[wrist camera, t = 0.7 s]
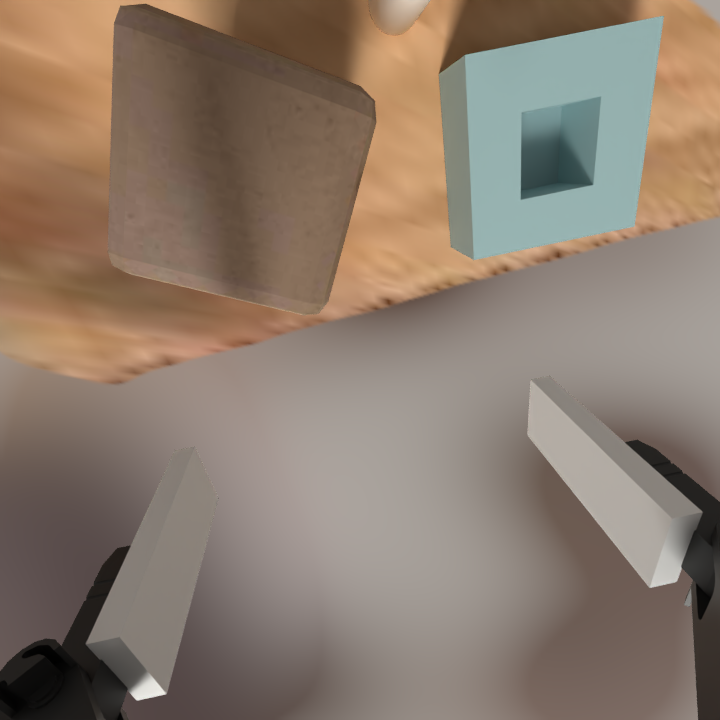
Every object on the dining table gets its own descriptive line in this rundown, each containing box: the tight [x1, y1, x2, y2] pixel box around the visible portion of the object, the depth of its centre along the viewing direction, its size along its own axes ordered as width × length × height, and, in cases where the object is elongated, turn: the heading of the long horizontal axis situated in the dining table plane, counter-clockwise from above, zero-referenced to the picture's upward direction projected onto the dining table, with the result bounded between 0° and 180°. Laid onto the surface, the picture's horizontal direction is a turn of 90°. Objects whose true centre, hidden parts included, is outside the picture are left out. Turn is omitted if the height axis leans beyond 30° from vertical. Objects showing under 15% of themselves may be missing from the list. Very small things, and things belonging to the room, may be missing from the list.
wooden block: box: [108, 4, 376, 315], centre depth 25 cm, size 10×10×20 cm
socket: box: [439, 16, 664, 260], centre depth 32 cm, size 14×14×6 cm
